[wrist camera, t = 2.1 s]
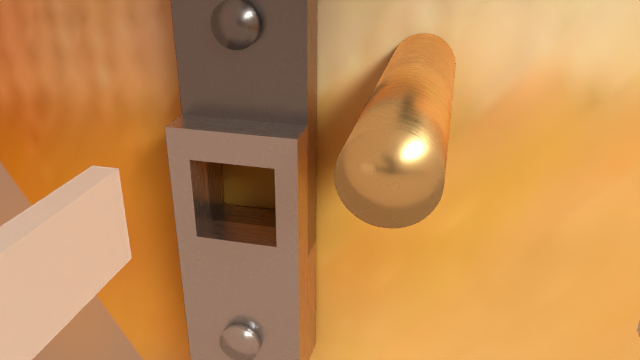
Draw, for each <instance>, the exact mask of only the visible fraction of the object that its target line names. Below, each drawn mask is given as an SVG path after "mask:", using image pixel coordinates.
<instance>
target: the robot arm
mask: <svg viewBox="0 0 640 360" xmlns="http://www.w3.org/2000/svg"><path fill="white" fill-rule="evenodd" d="M131 258H132V257H131V250H130V243H129V236H128V229H127V223H126V216H125V209H124V202H123V195H122V188H121V182H120V175H119V168H111V167H101V166H91V167H89V168H88V169H86V170H85V171H83V172H82V173H80V174H79V175H77V176H76V177H74V178H73V179H71V180H70V181H68V182H67V183H65V184H64V185H62V186H61V187H59V188H58V189H56V190H55V191H53V192H52V193H50V194H49V195H47V196H46V197H44V198H43V199H41V200H40V201H38V202H37V203H35V204H33V205H32V206H31V207H29V208H27V209H26V210H25V211H23V212H21V213H20V214H18V215H17V216H15V217H14V218H12V219H11V220H9V221H8V222H6V223H5V224H3V225H2V226H0V360H32V359H33V358H34V357H35V356H36V355H37V354H38V353H39V352H40V351H41V350H42V349H43V348H44V347H45V346H46V345H47V344H48V343H49V342H50V341H51V340H52V339H53V338H54V337H55V336H56V335H57V333H59V332H60V331H61V330H62V329H63V328H64V326H66V324H68V323H69V322H70V321H71V319H72V318H73V317H74V316H75V315H76V314H77V313H78V312H79V311H80V310H81V309H82V308H83V307H84V306H85V305H86V304H87V303H88V302H89V301H90V300H91V299H92V298H93V297H94V296H95V295H96V294H97V293H98V292H99V291H100V290H101V289H102V288H103V287H104V286H105V285H106V284H107V283H108V282H109V281H110V280H111V279H112V278H113V277H114V276H115V275H116V274H117V273H118V272H119V271H120V270H121V269H122V268H123V267H124V266H125V265H126V264H127V263H128V262H129V261H130V259H131ZM637 331H638V334H639V336H640V322H639V325H638V328H637Z"/></svg>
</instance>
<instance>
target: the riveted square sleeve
mask: <svg viewBox="0 0 640 360" xmlns="http://www.w3.org/2000/svg"><path fill="white" fill-rule="evenodd" d="M171 8H172V18H173V28H174V38H175V49H176V59H177V69H178V79H179V89H180V99H181V110H182V115H181V116H179V117H178V118H176V119H175V120H174V121H172V122H171V123H169V124H168V125H167V126H165V134H166V143H167V152H168V161H169V169H170V178H171V187H172V196H173V205H174V214H175V223H176V232H177V240H178V249H179V258H180V267H181V276H182V285H183V294H184V303H185V311H186V320H187V329H188V338H189V347H190V356H191V360H310V357H311V354H312V352H313V349H314V346H315V319H316V141H317V0H171ZM221 163H224V164H234V165H243V166H253V167H262V168H272V169H274V170H275V206H276V210H270V209H261V208H253V207H245V206H237V205H228V204H224V195H223V181H222V167H221Z"/></svg>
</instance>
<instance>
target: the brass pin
mask: <svg viewBox="0 0 640 360" xmlns="http://www.w3.org/2000/svg"><path fill="white" fill-rule="evenodd" d="M455 65H456V63H455V57H454V53H453V51H452V49H451V48H450V46H449V45H448V44H447V43H446V42H445V41H444V40H443V39H441V38H440V37H438V36H435V35H432V34H416V35H413V36H410V37H408V38H407V39H405V40H404V41H402V42H401V43H400V44H399V46H398V47H397V48H396V50H395V52H394V54H393V55H392V57H391V59H390V61H389V63H388V65H387V67H386V69H385V70H384V72H383V74H382V76H381V78H380V80H379V82H378V83H377V85H376V87H375V89H374V91H373V93H372V95H371V96H370V98H369V100H368V102H367V104H366V106H365V108H364V110H363V111H362V113H361V115H360V117H359V119H358V121H357V123H356V124H355V126H354V128H353V130H352V132H351V134H350V136H349V138H348V139H347V141H346V143H345V145H344V147H343V149H342V151H341V152H340V154H339V156H338V159H337V161H336V165H335V171H334V180H335V186H336V189H337V192H338V195H339V197H340V199H341V201H342V202H343V204H344V205H345V206H346V207H347V209H348V210H349V211H350V212H351V213H352V214H354V215H355V216H356V217H358V218H359V219H361V220H362V221H364V222H366V223H369V224H371V225H374V226H377V227H383V228H402V227H407V226H410V225H413V224H415V223H418V222H420V221H421V220H423V219H424V218H426V217H427V216H428V215H429V214H430V213H431V212H432V211H433V210H434V209H435V207H436V206H437V205H438V203H439V201H440V199H441V196H442V193H443V188H444V180H445V170H446V160H447V149H448V139H449V129H450V118H451V108H452V98H453V87H454V77H455Z"/></svg>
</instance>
